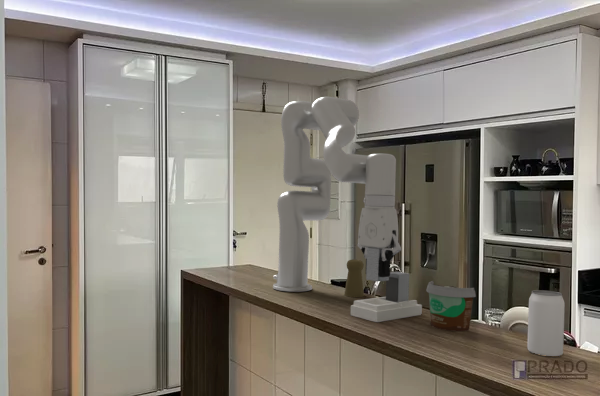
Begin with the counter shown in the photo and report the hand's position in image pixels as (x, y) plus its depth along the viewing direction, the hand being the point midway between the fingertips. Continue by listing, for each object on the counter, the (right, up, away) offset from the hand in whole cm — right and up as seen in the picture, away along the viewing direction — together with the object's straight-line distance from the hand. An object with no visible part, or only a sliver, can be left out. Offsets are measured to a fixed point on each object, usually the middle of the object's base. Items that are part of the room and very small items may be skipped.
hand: (377, 274), depth 134 cm
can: (+29, -12, -28) cm, 42 cm away
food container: (+14, -11, -9) cm, 20 cm away
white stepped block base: (+3, -11, +3) cm, 11 cm away
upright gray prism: (0, -1, 0) cm, 1 cm away
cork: (-3, -11, +30) cm, 32 cm away
